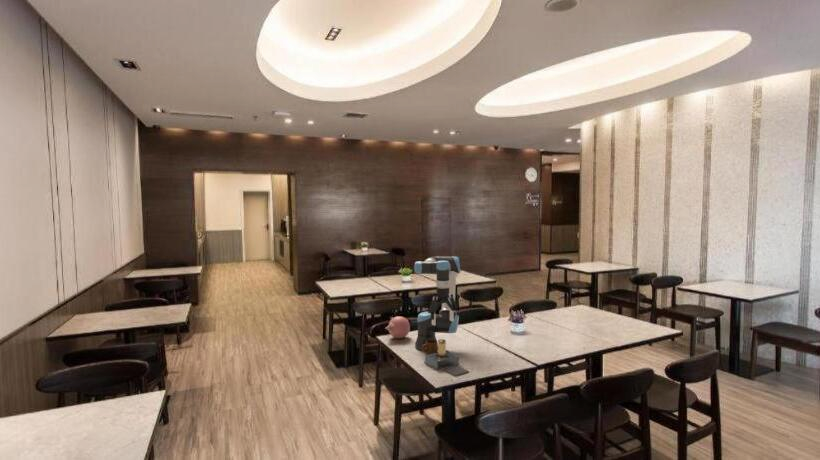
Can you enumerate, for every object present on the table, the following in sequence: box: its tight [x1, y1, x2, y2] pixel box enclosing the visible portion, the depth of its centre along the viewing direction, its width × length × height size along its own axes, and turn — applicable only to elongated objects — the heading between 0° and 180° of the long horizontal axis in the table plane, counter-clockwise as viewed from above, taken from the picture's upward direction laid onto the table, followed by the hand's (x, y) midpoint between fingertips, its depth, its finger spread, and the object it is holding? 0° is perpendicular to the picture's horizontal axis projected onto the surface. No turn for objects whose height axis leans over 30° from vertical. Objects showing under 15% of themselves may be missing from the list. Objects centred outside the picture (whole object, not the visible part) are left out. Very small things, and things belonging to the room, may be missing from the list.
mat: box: [443, 364, 470, 377], centre depth 226 cm, size 10×10×1 cm
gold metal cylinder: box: [437, 338, 447, 358], centre depth 237 cm, size 4×4×14 cm
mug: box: [421, 339, 438, 356], centre depth 248 cm, size 12×8×9 cm, turn 133°
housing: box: [424, 349, 460, 371], centre depth 237 cm, size 12×16×5 cm
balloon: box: [384, 315, 411, 340], centre depth 283 cm, size 15×20×15 cm
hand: (442, 322), depth 236 cm, fingers open, 13 cm apart
